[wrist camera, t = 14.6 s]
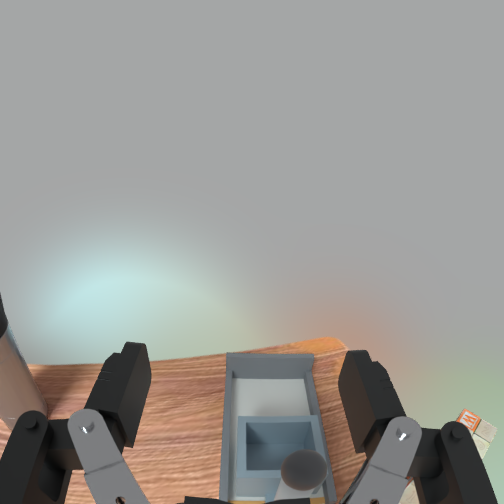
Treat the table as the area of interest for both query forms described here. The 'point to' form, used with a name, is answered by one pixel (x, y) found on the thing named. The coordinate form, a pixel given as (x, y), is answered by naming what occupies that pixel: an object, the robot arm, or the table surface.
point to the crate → (279, 457)
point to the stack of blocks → (482, 438)
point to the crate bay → (267, 409)
